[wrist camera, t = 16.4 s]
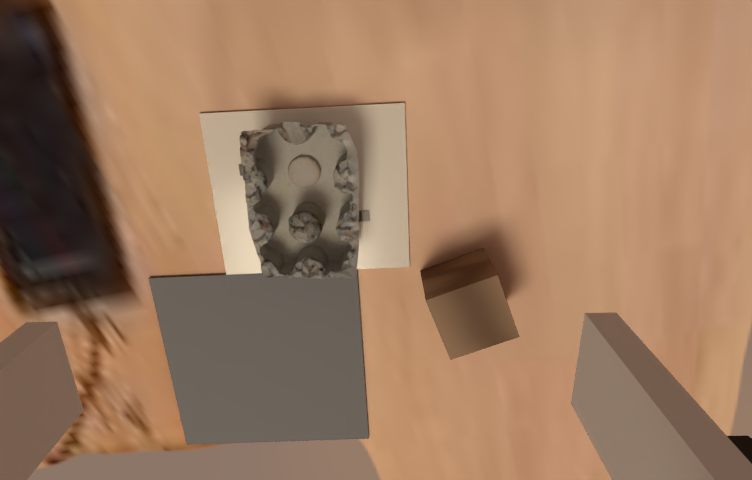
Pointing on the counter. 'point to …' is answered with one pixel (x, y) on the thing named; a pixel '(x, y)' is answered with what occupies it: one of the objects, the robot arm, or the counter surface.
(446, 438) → the counter surface
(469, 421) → the counter surface
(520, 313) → the counter surface
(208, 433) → the slate coaster
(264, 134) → the egg carton
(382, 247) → the tile
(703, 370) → the counter surface
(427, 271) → the walnut block
